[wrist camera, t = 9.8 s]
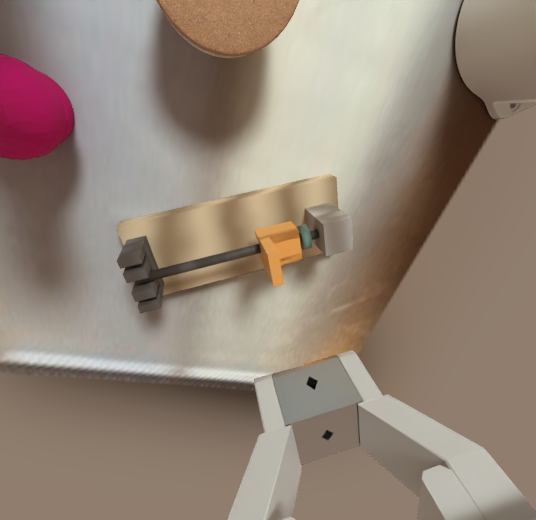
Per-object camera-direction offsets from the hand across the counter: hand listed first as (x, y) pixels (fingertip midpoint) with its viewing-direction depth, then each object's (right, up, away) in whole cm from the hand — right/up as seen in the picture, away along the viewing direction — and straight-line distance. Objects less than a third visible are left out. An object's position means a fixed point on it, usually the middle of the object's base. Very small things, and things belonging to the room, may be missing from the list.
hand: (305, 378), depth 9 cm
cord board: (-5, +7, +28) cm, 29 cm away
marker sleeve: (0, +6, +24) cm, 25 cm away
